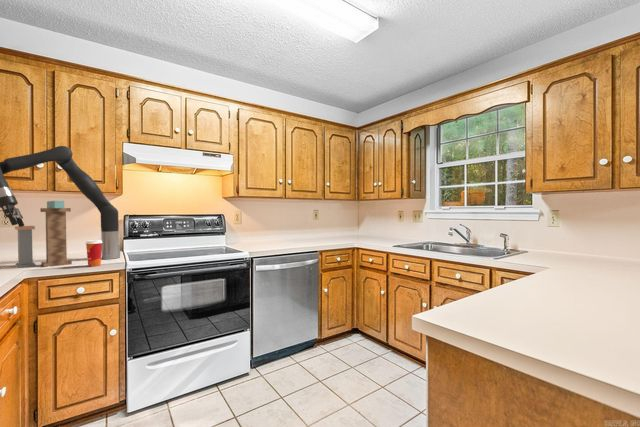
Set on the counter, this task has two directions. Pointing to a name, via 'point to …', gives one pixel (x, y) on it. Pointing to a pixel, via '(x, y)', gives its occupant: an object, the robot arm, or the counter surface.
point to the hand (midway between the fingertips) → (18, 225)
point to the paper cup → (94, 252)
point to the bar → (55, 204)
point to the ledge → (25, 246)
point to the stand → (56, 236)
